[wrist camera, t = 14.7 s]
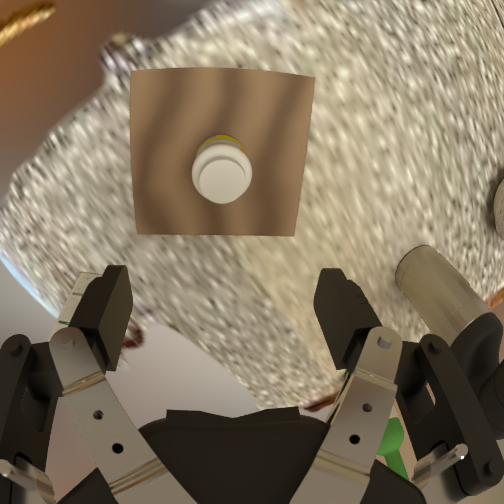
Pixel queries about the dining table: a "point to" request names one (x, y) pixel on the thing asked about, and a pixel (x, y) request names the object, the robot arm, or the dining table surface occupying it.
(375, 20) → the dining table surface
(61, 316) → the syrup box
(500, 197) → the paper bowls
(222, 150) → the supplement bottle
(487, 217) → the dining table surface
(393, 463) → the wine bottle
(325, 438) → the robot arm
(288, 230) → the walnut board
